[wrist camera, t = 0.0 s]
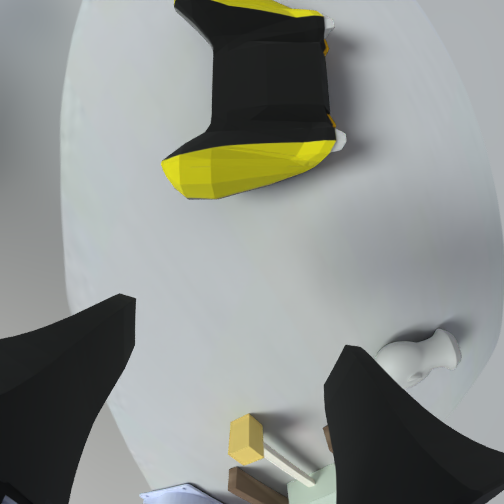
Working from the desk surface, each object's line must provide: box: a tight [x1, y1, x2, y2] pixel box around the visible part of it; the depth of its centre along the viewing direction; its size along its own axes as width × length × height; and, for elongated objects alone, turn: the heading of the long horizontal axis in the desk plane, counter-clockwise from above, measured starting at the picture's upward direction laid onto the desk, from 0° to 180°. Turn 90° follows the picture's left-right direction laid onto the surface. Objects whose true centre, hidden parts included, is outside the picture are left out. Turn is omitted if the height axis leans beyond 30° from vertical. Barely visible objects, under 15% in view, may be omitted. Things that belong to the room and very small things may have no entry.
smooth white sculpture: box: [374, 328, 462, 389], centre depth 19 cm, size 4×8×5 cm
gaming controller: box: [161, 0, 346, 200], centre depth 15 cm, size 15×6×10 cm
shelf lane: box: [228, 426, 333, 504], centre depth 22 cm, size 12×14×3 cm
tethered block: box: [228, 414, 336, 504], centre depth 21 cm, size 6×18×4 cm, turn 36°
